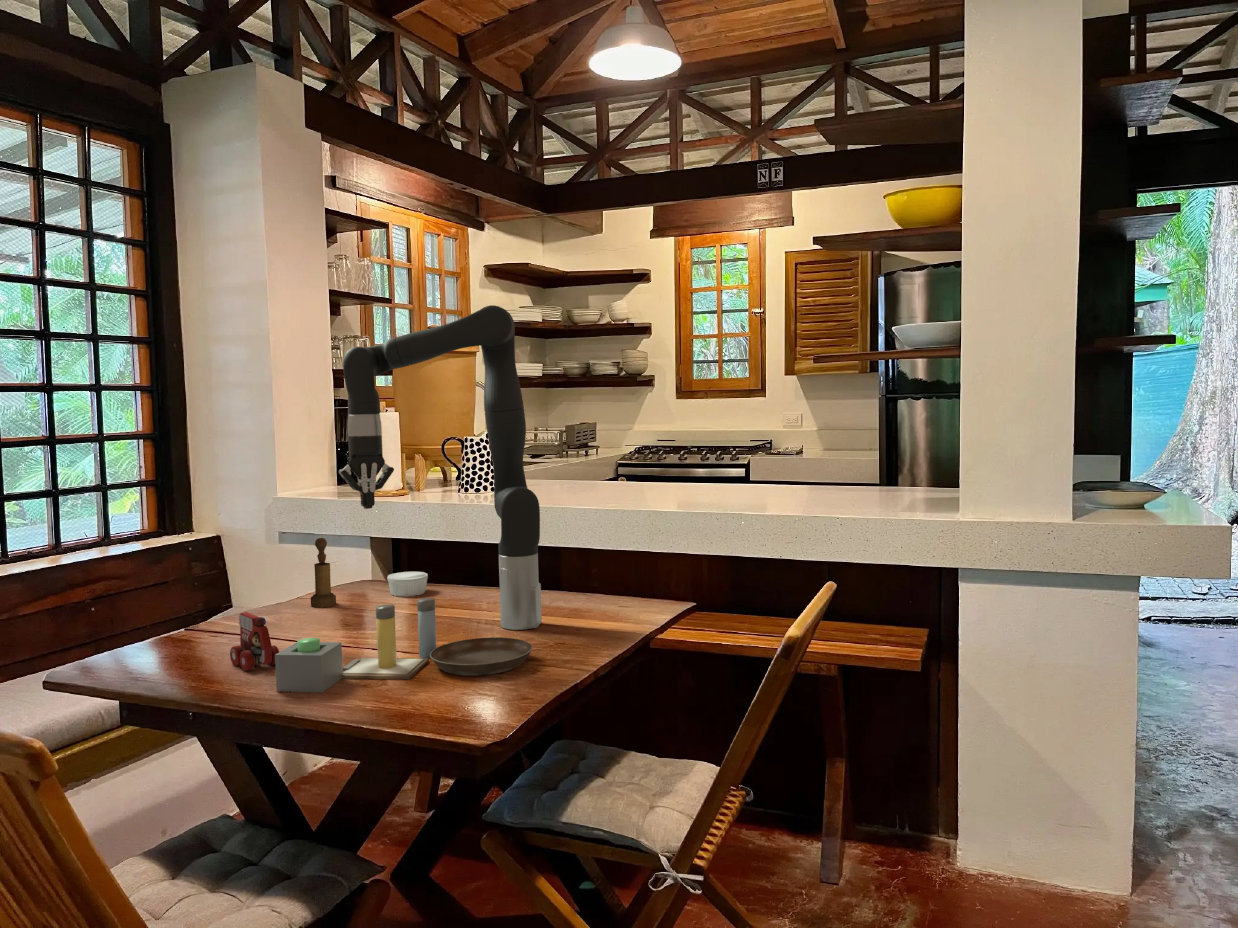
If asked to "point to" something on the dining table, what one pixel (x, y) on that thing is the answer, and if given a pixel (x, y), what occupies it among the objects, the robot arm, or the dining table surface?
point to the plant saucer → (481, 655)
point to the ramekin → (407, 583)
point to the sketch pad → (383, 669)
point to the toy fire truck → (253, 643)
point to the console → (309, 668)
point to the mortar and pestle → (322, 579)
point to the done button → (309, 645)
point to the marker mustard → (386, 636)
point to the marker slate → (426, 626)
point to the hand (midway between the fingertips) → (368, 508)
